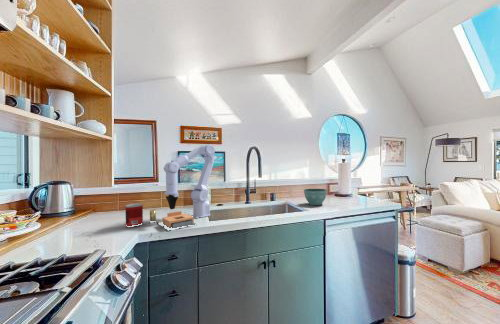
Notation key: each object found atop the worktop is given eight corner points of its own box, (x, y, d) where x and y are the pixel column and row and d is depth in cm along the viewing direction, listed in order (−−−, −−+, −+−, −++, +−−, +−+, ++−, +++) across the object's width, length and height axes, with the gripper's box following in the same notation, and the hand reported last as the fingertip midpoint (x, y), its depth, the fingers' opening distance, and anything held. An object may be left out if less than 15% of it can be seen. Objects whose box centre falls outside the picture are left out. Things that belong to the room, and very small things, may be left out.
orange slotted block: (185, 219, 118) (185, 210, 118) (193, 223, 109) (193, 213, 109) (162, 223, 110) (162, 213, 110) (169, 228, 101) (169, 217, 101)
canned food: (146, 223, 114) (145, 203, 114) (134, 228, 107) (134, 206, 107) (134, 223, 116) (134, 203, 116) (122, 227, 109) (121, 205, 109)
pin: (155, 221, 119) (154, 208, 119) (156, 222, 117) (156, 209, 117) (149, 222, 117) (149, 209, 117) (150, 223, 115) (150, 210, 115)
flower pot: (299, 203, 161) (299, 189, 161) (316, 201, 167) (315, 187, 168) (314, 207, 146) (314, 191, 146) (332, 205, 153) (331, 189, 153)
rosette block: (182, 218, 123) (182, 213, 123) (196, 225, 109) (196, 219, 109) (157, 223, 114) (156, 218, 114) (168, 231, 100) (168, 225, 100)
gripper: (159, 183, 119) (160, 208, 119) (168, 185, 108) (169, 212, 108) (172, 182, 124) (173, 206, 124) (182, 184, 113) (183, 209, 112)
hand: (172, 208), depth 116 cm, fingers closed
